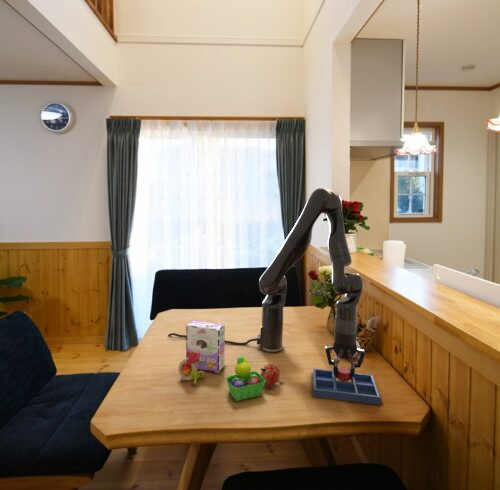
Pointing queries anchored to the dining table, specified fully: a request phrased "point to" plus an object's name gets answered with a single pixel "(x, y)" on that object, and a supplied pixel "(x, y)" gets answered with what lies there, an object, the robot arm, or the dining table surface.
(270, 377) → the pomegranate
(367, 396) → the grid
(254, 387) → the fruit basket
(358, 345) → the die
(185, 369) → the bird rattle
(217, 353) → the candy box
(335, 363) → the robot arm
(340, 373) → the short red cylinder
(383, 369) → the dining table surface
